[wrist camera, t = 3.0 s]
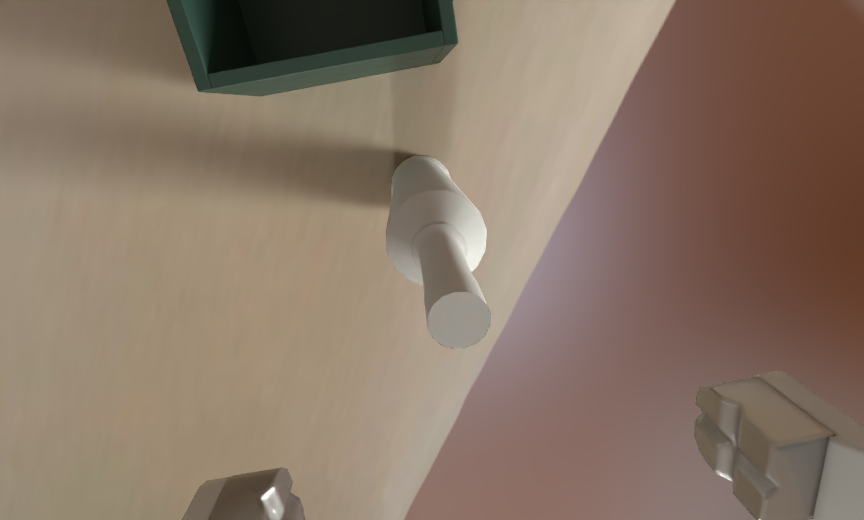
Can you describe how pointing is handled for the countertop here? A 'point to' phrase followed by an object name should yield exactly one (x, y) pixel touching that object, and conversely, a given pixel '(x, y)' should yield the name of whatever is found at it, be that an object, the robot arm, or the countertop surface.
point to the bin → (307, 41)
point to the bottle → (439, 249)
